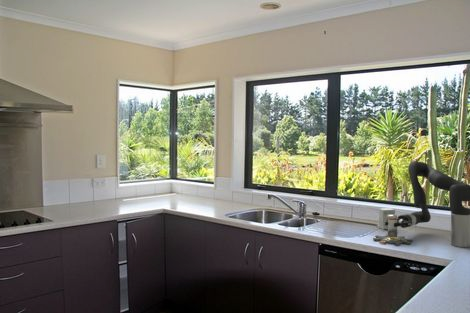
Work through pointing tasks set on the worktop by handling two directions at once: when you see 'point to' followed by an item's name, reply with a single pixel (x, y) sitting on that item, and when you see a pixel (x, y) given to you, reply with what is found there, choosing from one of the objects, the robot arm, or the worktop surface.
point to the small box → (384, 216)
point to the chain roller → (392, 225)
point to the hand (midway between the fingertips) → (390, 224)
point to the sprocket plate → (393, 240)
